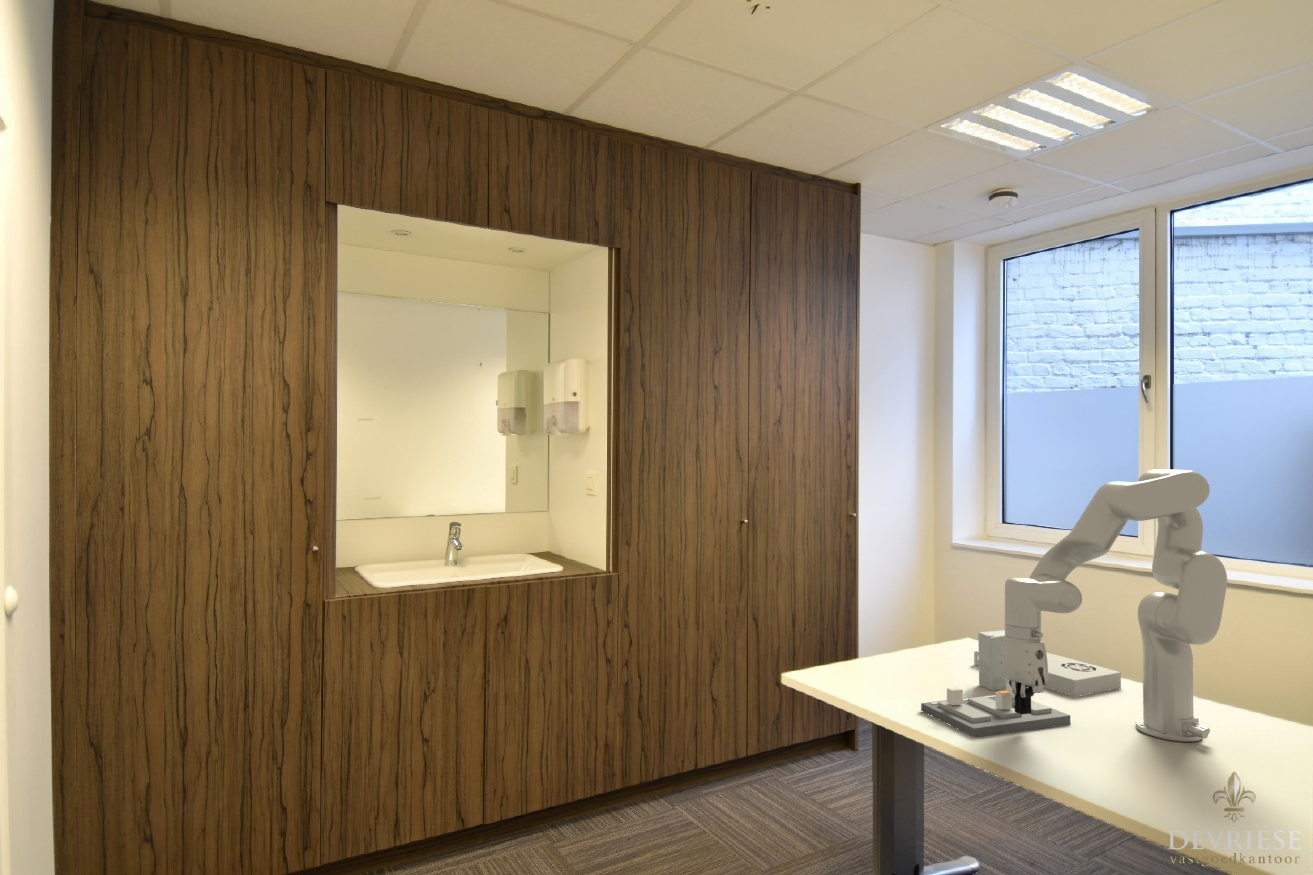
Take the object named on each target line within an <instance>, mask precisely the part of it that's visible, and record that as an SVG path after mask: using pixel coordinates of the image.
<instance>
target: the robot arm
mask: <svg viewBox="0 0 1313 875" xmlns="http://www.w3.org/2000/svg"><path fill="white" fill-rule="evenodd" d="M1210 488H1211V487H1210V485H1209V482H1208V480H1207V478H1206V477H1205V476H1203V475H1202V474H1200V473H1198V472H1196V471H1194V470H1188V469H1163V468H1162V469H1159V468H1158V469H1157V468H1156V469H1151V470H1148V471H1145V472H1143V473H1142V474H1141V475H1140V476H1139V477H1138V480H1137V482H1132V481H1130V482H1129V481H1110V482H1107V483H1104V484H1102V485H1101V486H1100V487H1099V488H1098V489H1097V490H1096V492H1095V494H1094V495H1093V496H1092V498H1091V500H1090V501H1089V503H1088V504H1087V506H1086V508H1085V509H1084V510H1083V512H1082V514H1081V516H1080V517H1079V519H1078V520H1077V522H1076V523H1075V525H1074V527H1073V528H1072V529H1071V530H1070V532H1069V533H1068V534H1067V535H1066V536H1064V537H1063V538H1062V539H1061V540H1059V541H1058V542H1057V543H1056V544H1055V545H1053V547H1051V548H1050V549H1049V550H1047V552H1046V553H1044V555H1043V556H1042V557H1041V559H1040V560H1039V561H1038V563H1037V564H1036V566H1035V568H1034V569H1033V571H1032V573H1031V574H1030V576H1029V577H1009V578H1007V579H1006V580H1005V583H1004V631H1005V635H1004V637H1003V641H1002V648H1001V673H1002V675H1003V679H1004V680H1005V681H1006V682H1007V683H1009V684H1010V686H1011V687H1012V692H1013V694H1015V712H1016V713H1019V714H1021V715H1022V714H1030V713H1031V700H1032V697H1034V695H1035V694H1043V693H1044V692H1045V691H1044V690H1045V689H1044V687H1043V685H1047V684H1048V663H1047V655H1046V652H1047V648H1046V645H1045V641H1042V638H1044V634H1043V632H1042V612H1050V613H1055V614H1069V613H1070V614H1071V613H1073V612H1075V611H1077V610H1078V609H1079V608H1080V607H1081V606H1082V602H1083V595H1082V592H1081V591H1080V589H1079V588H1078V586H1076V584H1073V583H1072V582H1070V581H1067V580H1066V579H1067V578H1068V577H1069V575H1070V574H1071V573H1072V572H1073V571H1074V570H1075V569H1076V568H1078V567H1079V566H1080V565H1083V564H1084V563H1087V562H1089V561H1092V560H1095V559H1097V558H1101V557H1102V556H1104V555H1106V554H1107V553H1108V552H1109V551H1110V550H1111V548H1112V546H1113V545H1114V543H1115V542H1116V540H1117V538H1118V537H1119V535H1120V534H1121V533H1122V531H1123V529H1124V527H1125V526H1126V525H1127V523H1128V522H1129V521H1134V522H1137V521H1138V522H1141V521H1149V520H1155V519H1157V536H1156V540H1155V546H1154V547H1155V548H1154V553H1153V557H1152V558H1153V559H1152V565H1151V572H1152V576H1153V578H1154V579H1155V580H1156V581H1157V582H1158V583H1159V584H1161V585H1163V586H1165V587H1169V588H1172V589H1175V590H1177V594H1174V593H1169V592H1166V591H1165V592H1164V591H1158V592H1157V591H1155V592H1151V593H1148V594H1147V595H1145V596H1143V598H1142V599H1141V600H1140V601H1139V604H1138V608H1137V620H1138V624H1139V625H1138V626H1139V630H1140V634H1141V641H1142V642H1141V643H1142V644H1141V645H1142V699H1143V700H1142V705H1143V706H1142V707H1143V708H1142V710H1143V711H1142V712H1143V714H1142V716H1143V718H1141V717H1140V718H1137V720H1135V728H1136V729H1138V730H1139V731H1140V732H1142V733H1144V734H1146V735H1149V736H1152V737H1154V738H1159V739H1161V740H1162V739H1163V740H1168V741H1174V742H1184V743H1186V742H1187V743H1190V742H1198V741H1201V740H1202V739H1208V738H1209V734H1210V732H1211V730H1210V728H1209V727H1206V726H1203V725H1200V723H1199V717H1197V716H1194V715H1195V714H1194V658H1193V650H1192V646H1191V645H1193V646H1194V645H1195V646H1198V645H1199V646H1200V645H1205V644H1207V643H1208V644H1209V642H1211V641H1212V640H1213V639H1214V638H1215V637H1216V636H1217V634H1218V632H1219V629H1220V625H1221V622H1222V616H1223V611H1224V604H1225V598H1226V591H1227V586H1228V574H1227V570H1226V567H1225V566H1224V564H1223V562H1222V561H1221V560H1220V558H1218V557H1217V556H1216V555H1214V554H1213V553H1210V552H1207V551H1203V550H1202V546H1203V545H1202V543H1203V533H1204V522H1203V519H1202V515H1201V514H1200V511H1199V510H1198V508H1199V507H1200V506H1202V505H1203V504H1204V503H1205V502H1206V501H1207V500H1208V498H1209V495H1210Z"/></svg>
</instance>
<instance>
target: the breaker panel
mask: <svg viewBox="0 0 1313 875" xmlns="http://www.w3.org/2000/svg"><path fill="white" fill-rule="evenodd" d="M920 707H921V708H920V711H923V712H925V713H927V714H929V715H928V716H930V715H932V716H933V717H932V716H931V717H932V718H934V717H935V718H934V719H936V720H938V719H940V720H941V721H940V720H939V721H940V722H942V721H943V723H944V722H945V723H944V724H946V723H948V724H950V725H951V726H950V725H949V726H950V727H952V726H953V727H952V728H954V729H956V728H958V729H959V730H958V729H957V730H958V731H960V732H963V733H964V732H965V733H964V734H966V733H967V734H966V735H968V734H969V736H970V737H972V736H973V737H972V738H979V737H978V736H981V737H987V736H992V735H1001V734H1007V733H1016V732H1023V731H1030V730H1037V729H1045V728H1051V727H1058V726H1059V727H1061V726H1066V725H1071V714H1068V713H1065V712H1063V711H1060V710H1057V709H1055V708H1052V707H1049V706H1048V705H1046V704H1045V705H1044V704H1042V703H1040V702H1037V701H1034V700H1032V699H1031V713H1030V714H1022V715H1021V714H1019V713H1016V712H1015V698H1012V709H1004V710H1001V709H999V708H996V701H995V694H989V695H988V694H987V695H980V696H970V697H963V704H960V705H950V704H948V703H947V699H946V700H945V699H944V700H938V701H930V702H928V701H927V702H921V703H920ZM923 712H922V713H923ZM925 713H924V714H925ZM927 714H926V715H927ZM948 724H947V725H948Z"/></svg>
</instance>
